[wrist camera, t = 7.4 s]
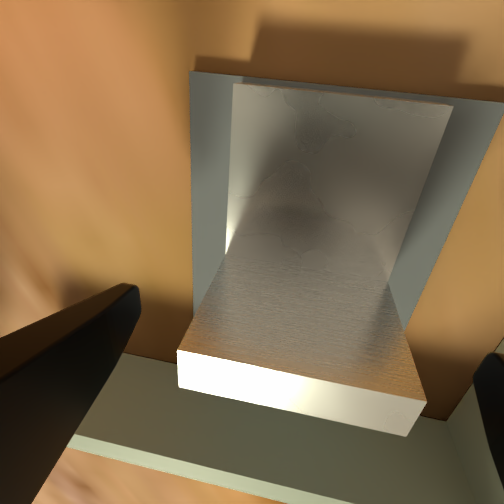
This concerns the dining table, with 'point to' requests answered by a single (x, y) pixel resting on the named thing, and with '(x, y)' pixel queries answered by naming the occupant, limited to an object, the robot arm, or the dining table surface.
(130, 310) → the robot arm
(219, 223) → the pad
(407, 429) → the bracket
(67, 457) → the dining table surface
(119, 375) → the corner frame
